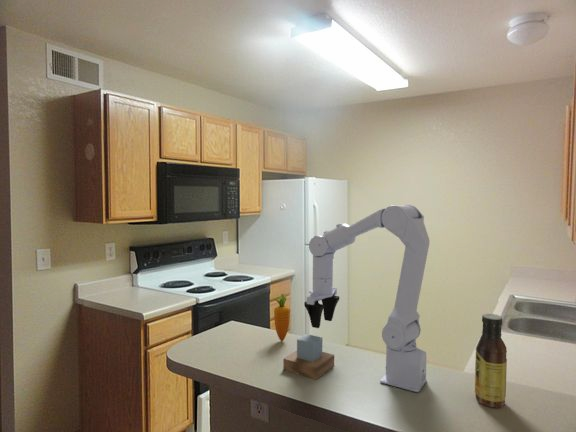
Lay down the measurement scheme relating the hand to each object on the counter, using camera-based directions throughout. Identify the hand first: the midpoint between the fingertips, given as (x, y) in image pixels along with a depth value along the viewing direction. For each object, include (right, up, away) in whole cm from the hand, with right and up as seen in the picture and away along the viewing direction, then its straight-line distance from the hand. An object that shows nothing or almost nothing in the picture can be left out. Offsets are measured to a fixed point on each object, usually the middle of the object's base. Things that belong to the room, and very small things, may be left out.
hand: (322, 323), depth 116 cm
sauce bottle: (+36, -11, -25) cm, 45 cm away
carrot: (-12, -9, +12) cm, 19 cm away
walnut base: (-4, -10, -8) cm, 13 cm away
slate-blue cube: (-4, -7, -8) cm, 11 cm away
